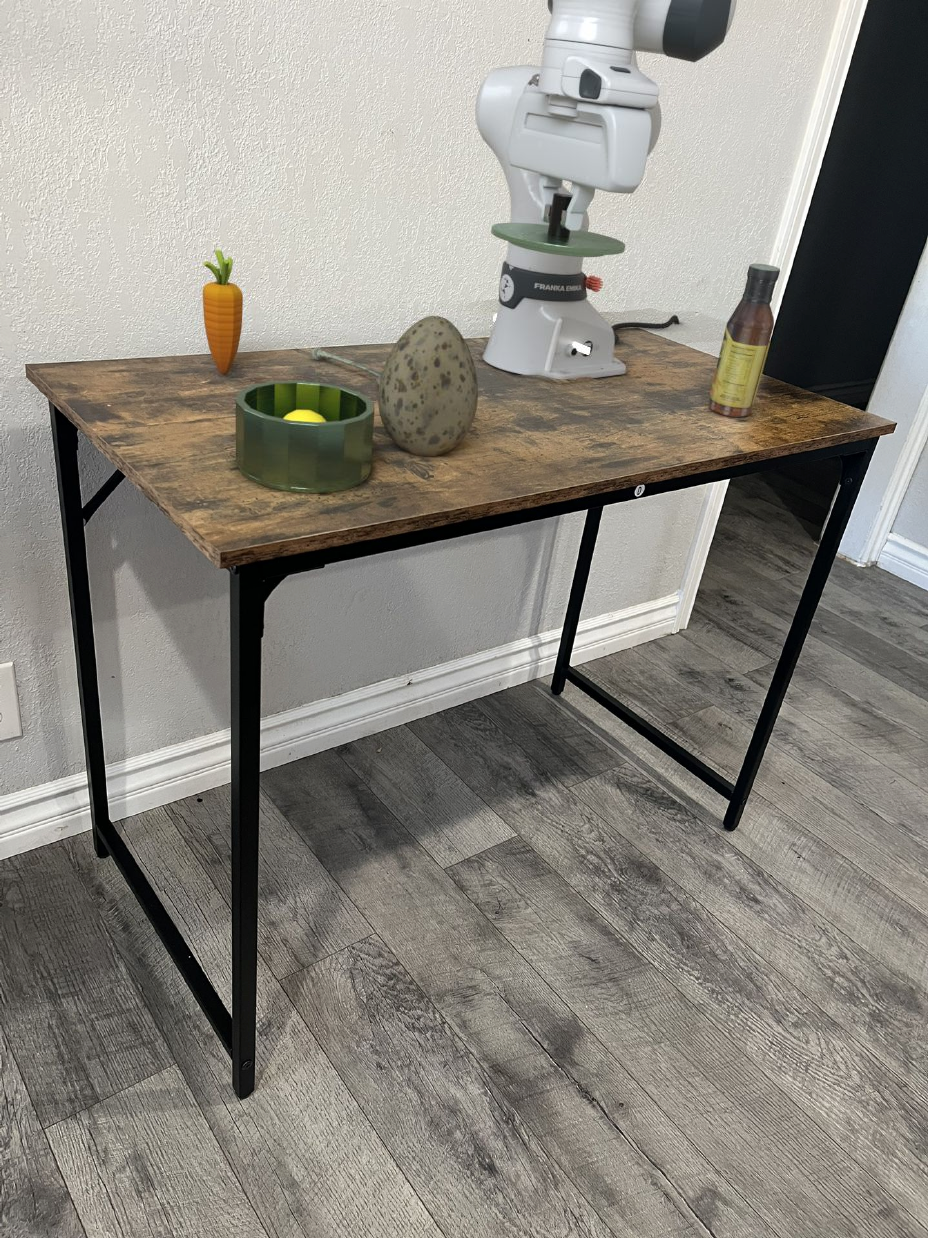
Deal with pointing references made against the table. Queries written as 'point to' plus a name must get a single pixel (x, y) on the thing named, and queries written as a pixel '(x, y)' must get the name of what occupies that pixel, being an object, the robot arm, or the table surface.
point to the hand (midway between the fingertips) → (560, 225)
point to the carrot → (222, 314)
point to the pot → (304, 436)
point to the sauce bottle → (745, 345)
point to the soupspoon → (320, 354)
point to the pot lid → (558, 235)
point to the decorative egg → (428, 388)
